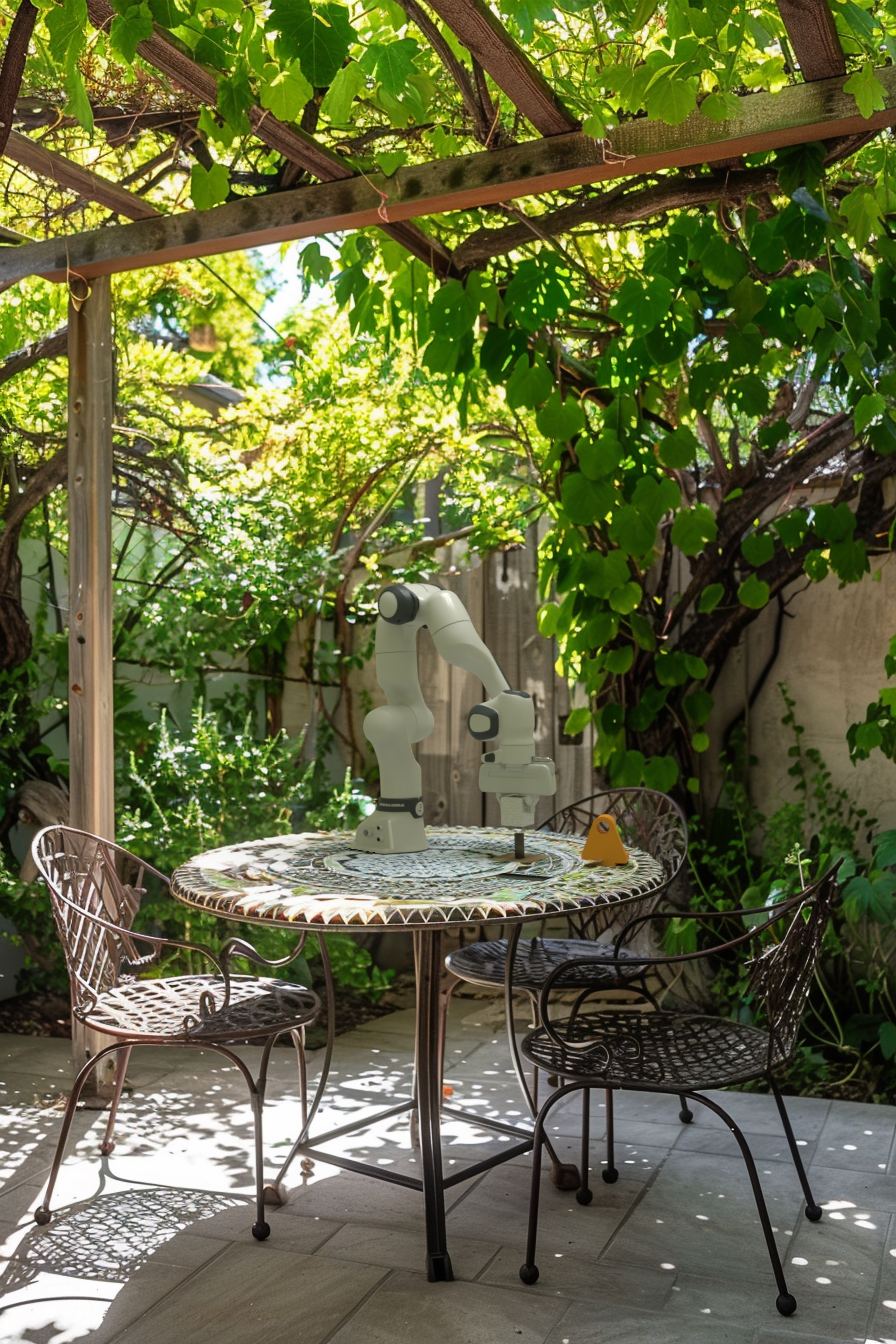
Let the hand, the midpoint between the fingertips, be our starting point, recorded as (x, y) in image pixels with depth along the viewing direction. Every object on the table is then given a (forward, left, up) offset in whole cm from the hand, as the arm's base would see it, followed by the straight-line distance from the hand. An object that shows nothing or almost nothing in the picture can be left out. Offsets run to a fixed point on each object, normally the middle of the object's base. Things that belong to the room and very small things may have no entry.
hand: (517, 811), depth 306 cm
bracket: (+19, +9, -13) cm, 25 cm away
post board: (0, 0, -13) cm, 13 cm away
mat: (+10, -13, -13) cm, 21 cm away
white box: (0, 0, -3) cm, 3 cm away
